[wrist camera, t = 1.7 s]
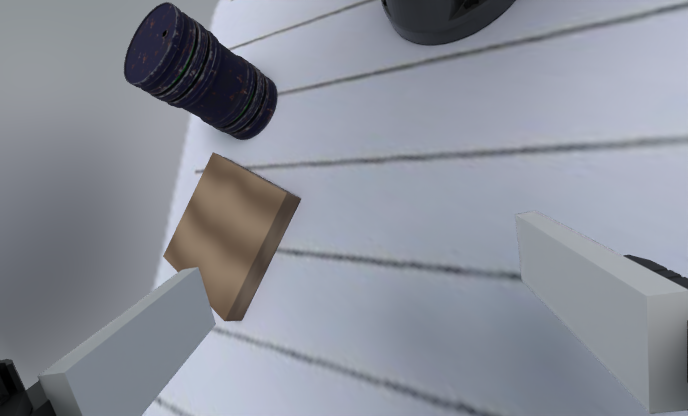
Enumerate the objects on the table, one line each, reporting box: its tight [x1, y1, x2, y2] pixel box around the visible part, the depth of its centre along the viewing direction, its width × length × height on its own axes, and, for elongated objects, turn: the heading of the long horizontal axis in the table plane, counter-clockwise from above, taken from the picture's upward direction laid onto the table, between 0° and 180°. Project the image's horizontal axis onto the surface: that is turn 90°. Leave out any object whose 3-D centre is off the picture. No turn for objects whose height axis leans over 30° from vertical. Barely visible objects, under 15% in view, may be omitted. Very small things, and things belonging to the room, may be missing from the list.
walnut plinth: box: [163, 153, 301, 321], centre depth 44 cm, size 16×16×2 cm
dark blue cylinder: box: [124, 2, 277, 140], centre depth 43 cm, size 10×10×15 cm
